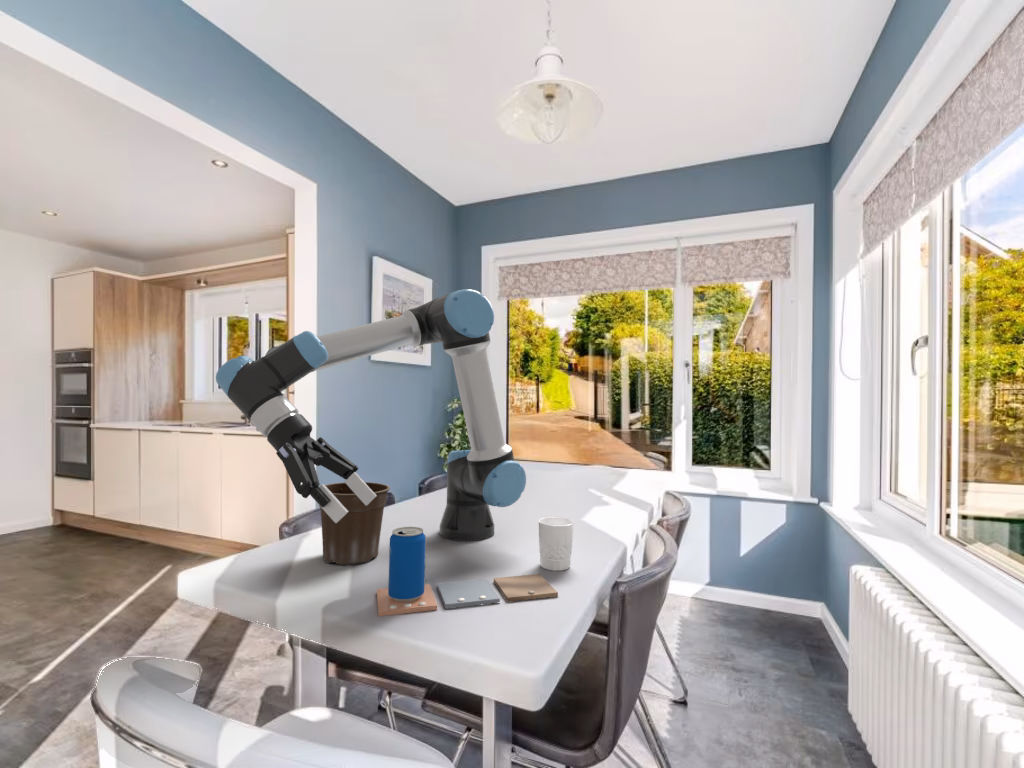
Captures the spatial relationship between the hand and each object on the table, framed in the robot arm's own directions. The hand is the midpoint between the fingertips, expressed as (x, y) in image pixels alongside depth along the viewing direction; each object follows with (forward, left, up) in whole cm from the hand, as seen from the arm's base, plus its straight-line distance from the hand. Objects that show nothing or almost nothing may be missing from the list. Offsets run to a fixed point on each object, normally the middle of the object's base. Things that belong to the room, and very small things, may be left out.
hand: (358, 508), depth 90 cm
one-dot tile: (+3, +32, -17) cm, 36 cm away
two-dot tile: (+3, +20, -17) cm, 26 cm away
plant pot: (-25, -1, -17) cm, 30 cm away
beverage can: (+3, +9, -16) cm, 19 cm away
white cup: (-8, +43, -17) cm, 47 cm away
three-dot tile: (+3, +9, -17) cm, 19 cm away
